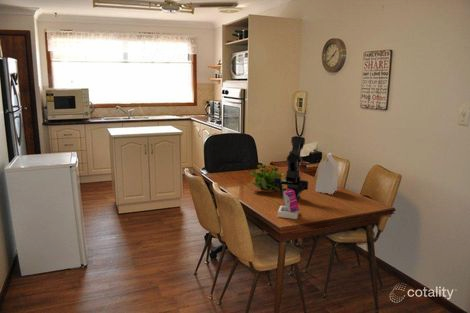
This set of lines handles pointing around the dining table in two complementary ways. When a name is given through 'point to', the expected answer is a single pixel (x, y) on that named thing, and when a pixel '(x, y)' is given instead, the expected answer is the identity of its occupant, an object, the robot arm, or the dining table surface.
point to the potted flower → (266, 178)
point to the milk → (327, 176)
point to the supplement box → (290, 200)
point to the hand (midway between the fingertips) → (288, 197)
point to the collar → (287, 213)
